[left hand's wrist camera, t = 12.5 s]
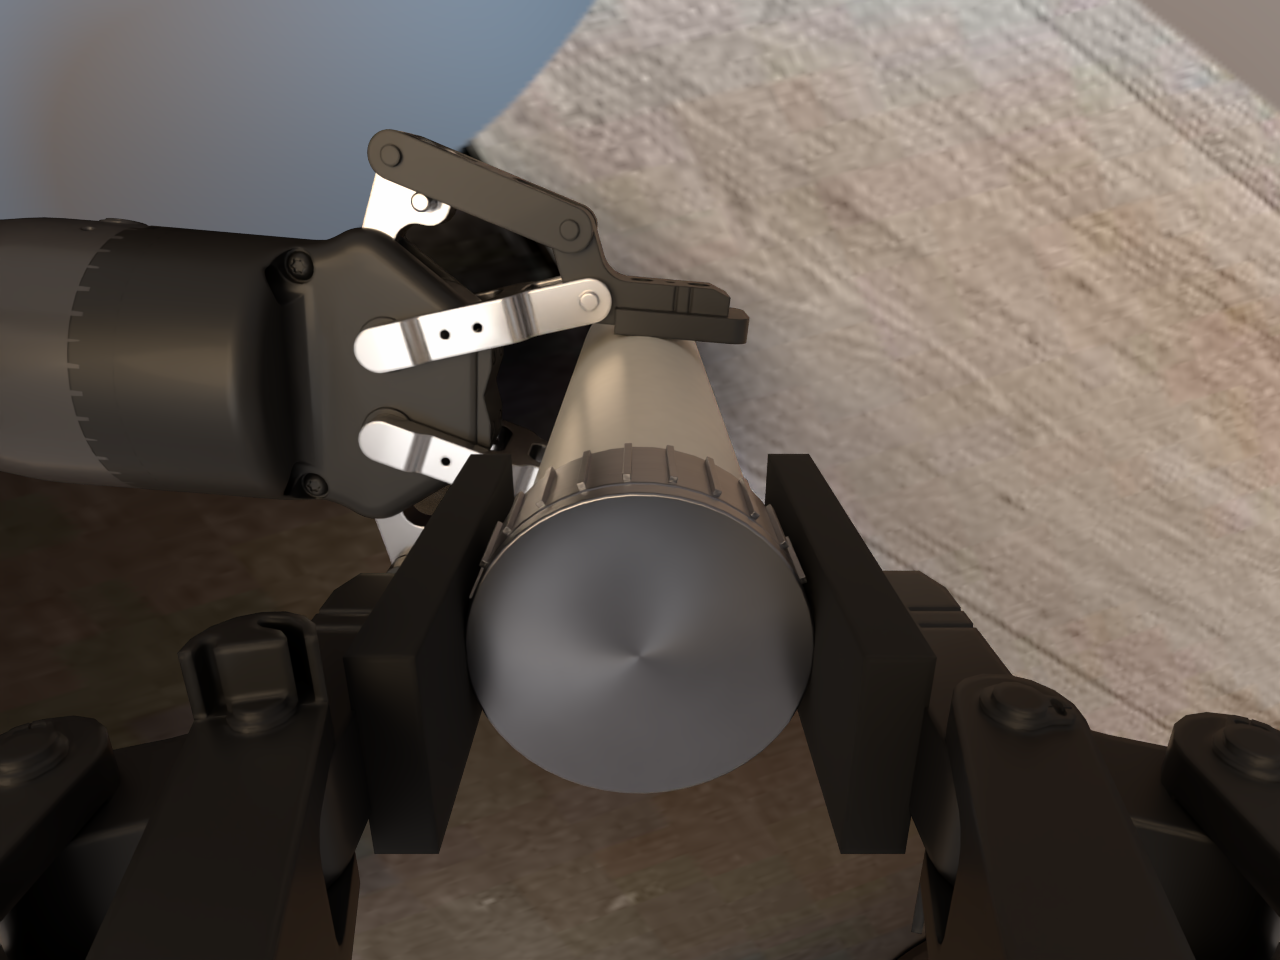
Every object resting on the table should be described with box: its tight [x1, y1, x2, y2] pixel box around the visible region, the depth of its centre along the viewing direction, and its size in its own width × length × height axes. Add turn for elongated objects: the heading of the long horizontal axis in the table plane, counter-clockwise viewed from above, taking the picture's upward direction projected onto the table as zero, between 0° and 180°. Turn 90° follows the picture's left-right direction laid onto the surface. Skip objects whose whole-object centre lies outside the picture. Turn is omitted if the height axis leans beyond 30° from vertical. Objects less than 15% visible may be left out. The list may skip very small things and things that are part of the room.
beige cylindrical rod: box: [533, 323, 743, 485], centre depth 20 cm, size 4×4×19 cm
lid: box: [464, 443, 815, 793], centre depth 11 cm, size 5×5×2 cm
